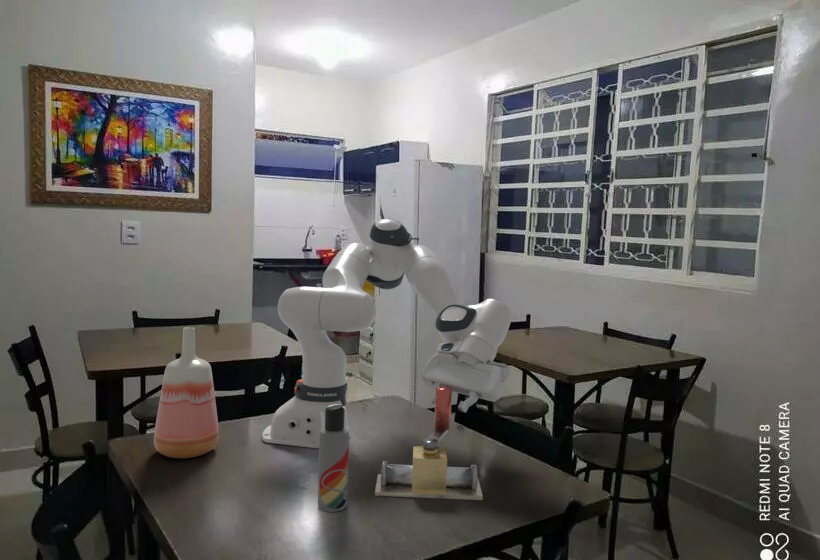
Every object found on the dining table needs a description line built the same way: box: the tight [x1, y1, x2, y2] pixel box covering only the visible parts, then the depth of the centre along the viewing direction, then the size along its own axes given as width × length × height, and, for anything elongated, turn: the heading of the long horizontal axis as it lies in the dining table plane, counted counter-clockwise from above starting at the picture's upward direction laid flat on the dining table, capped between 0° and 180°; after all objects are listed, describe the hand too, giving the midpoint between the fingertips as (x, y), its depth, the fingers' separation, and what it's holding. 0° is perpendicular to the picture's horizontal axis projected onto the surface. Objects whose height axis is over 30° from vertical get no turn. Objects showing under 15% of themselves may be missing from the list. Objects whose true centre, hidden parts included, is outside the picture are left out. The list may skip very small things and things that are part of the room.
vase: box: [153, 326, 220, 459], centre depth 142 cm, size 14×14×30 cm
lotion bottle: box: [317, 405, 350, 513], centre depth 117 cm, size 6×6×20 cm
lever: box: [421, 387, 453, 450], centre depth 131 cm, size 14×4×10 cm, turn 162°
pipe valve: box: [374, 445, 484, 501], centre depth 127 cm, size 22×9×9 cm, turn 89°
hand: (447, 406), depth 135 cm, fingers open, 6 cm apart
